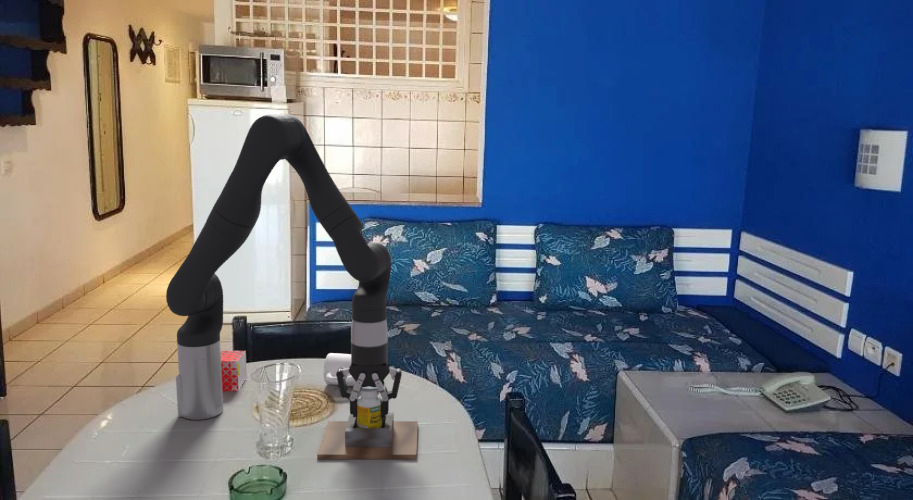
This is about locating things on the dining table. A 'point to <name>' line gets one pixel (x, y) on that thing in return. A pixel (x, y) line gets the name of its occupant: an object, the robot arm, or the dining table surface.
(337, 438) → the dock socket
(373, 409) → the supplement bottle
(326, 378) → the mug
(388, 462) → the dining table surface
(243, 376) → the red patterned cube
